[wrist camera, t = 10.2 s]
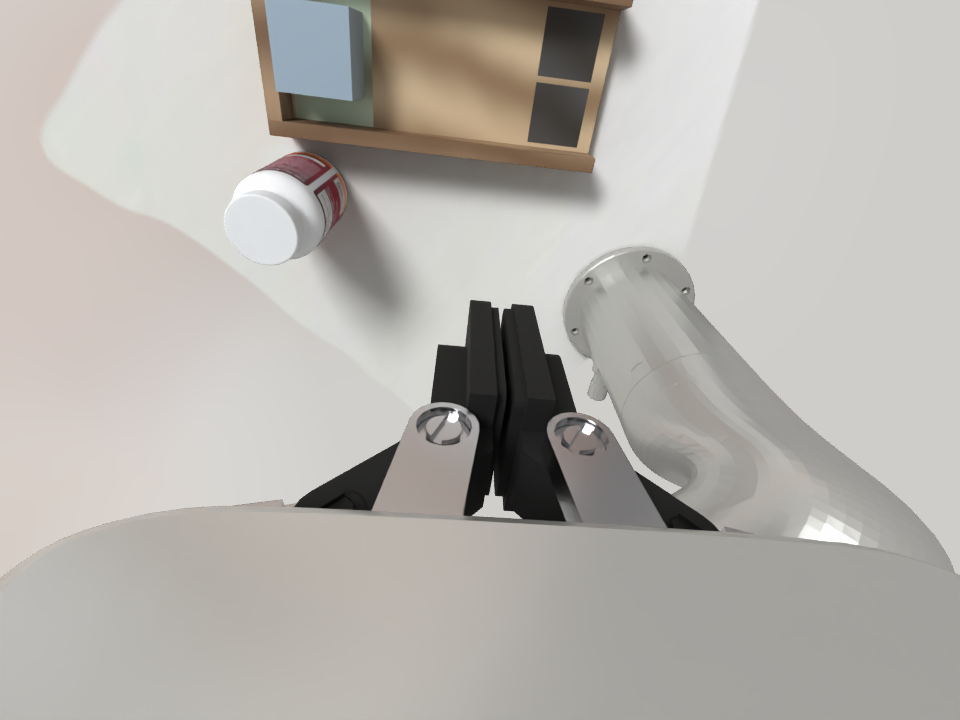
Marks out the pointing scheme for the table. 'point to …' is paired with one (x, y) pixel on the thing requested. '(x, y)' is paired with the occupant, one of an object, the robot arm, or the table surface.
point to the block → (316, 48)
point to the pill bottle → (285, 208)
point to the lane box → (464, 80)
